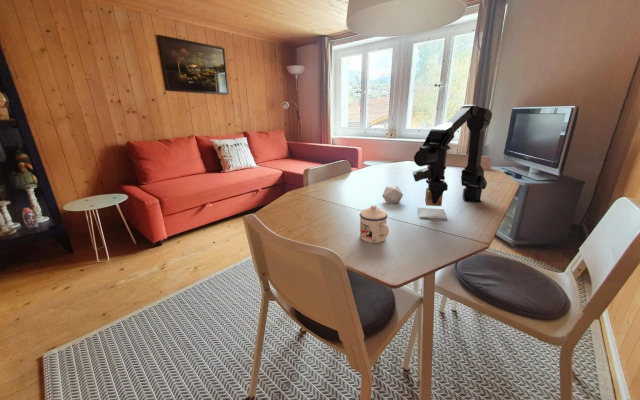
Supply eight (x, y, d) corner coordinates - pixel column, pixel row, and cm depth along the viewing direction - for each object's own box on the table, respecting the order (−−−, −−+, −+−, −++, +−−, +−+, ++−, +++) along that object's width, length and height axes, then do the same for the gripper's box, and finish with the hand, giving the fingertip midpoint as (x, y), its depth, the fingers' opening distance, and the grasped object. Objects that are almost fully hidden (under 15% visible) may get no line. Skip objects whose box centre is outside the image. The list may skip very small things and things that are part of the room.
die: (398, 209, 114) (408, 190, 114) (381, 199, 114) (391, 180, 114) (393, 208, 122) (402, 191, 123) (377, 200, 122) (386, 182, 123)
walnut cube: (439, 201, 105) (441, 188, 103) (441, 206, 100) (442, 192, 99) (425, 200, 107) (426, 188, 105) (426, 205, 102) (427, 192, 100)
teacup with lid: (354, 235, 91) (354, 204, 87) (375, 229, 94) (376, 199, 91) (375, 250, 81) (376, 216, 77) (398, 243, 84) (400, 210, 80)
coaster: (443, 210, 108) (443, 209, 108) (447, 220, 99) (447, 218, 99) (418, 209, 111) (418, 207, 111) (419, 218, 102) (419, 216, 102)
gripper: (413, 157, 109) (411, 193, 114) (415, 167, 92) (412, 208, 97) (442, 158, 106) (438, 194, 111) (450, 167, 89) (445, 210, 94)
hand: (433, 201), depth 103 cm, fingers closed on walnut cube, 5 cm apart
